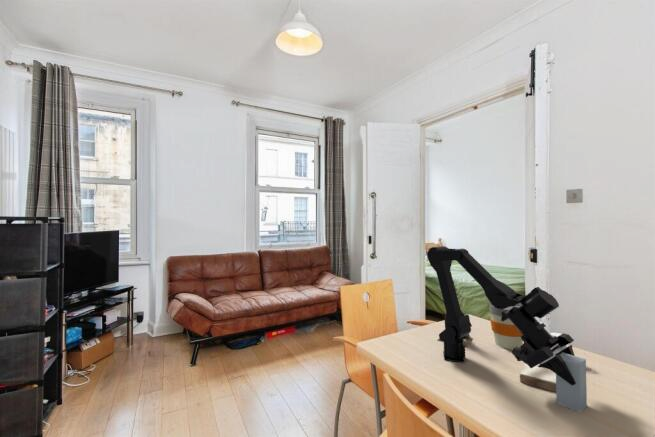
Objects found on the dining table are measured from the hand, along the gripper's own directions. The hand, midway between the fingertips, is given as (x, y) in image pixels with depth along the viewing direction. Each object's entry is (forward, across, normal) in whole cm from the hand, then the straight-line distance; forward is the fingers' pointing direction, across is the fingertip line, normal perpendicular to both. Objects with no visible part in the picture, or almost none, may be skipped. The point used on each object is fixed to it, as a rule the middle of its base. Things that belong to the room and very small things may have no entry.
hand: (577, 381), depth 78 cm
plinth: (-3, -7, -12) cm, 15 cm away
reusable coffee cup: (-16, -26, -25) cm, 40 cm away
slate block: (+4, 0, -6) cm, 7 cm away
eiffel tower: (-26, -15, -36) cm, 47 cm away
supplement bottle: (-4, -27, -14) cm, 31 cm away
